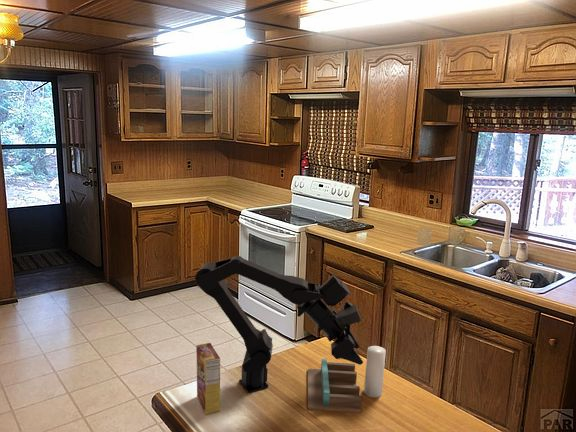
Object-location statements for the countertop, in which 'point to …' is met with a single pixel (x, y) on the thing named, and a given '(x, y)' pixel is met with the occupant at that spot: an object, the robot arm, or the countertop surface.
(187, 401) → the countertop surface
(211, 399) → the candy box
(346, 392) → the comb rack
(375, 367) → the white cylinder
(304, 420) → the countertop surface
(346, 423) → the countertop surface
